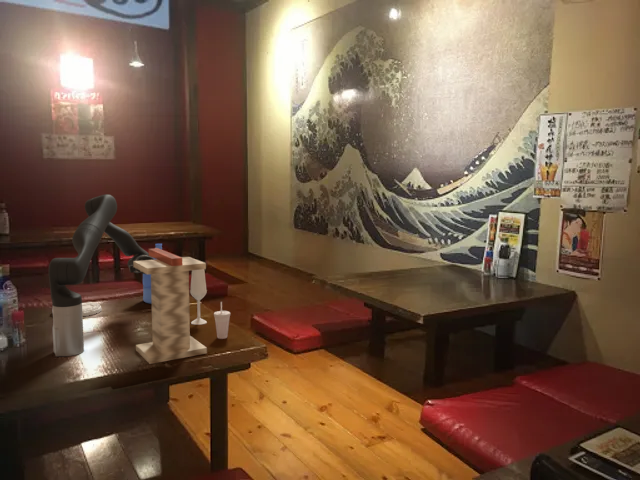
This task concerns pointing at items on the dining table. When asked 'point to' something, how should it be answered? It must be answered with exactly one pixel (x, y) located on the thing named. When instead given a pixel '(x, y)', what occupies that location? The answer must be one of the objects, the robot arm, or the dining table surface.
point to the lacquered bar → (165, 257)
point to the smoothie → (222, 323)
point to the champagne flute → (198, 292)
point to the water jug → (148, 283)
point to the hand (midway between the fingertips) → (150, 267)
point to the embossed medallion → (90, 308)
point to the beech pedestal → (170, 311)
